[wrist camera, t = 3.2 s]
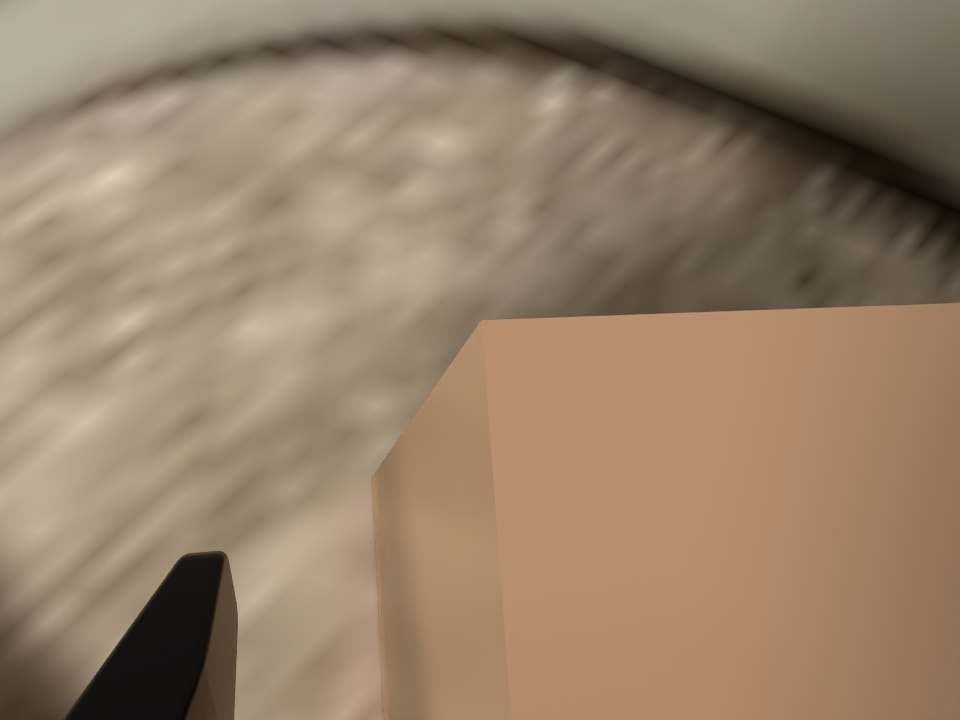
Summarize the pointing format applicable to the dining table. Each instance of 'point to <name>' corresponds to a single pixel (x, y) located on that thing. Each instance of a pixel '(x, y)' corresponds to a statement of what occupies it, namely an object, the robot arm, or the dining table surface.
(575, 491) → the clay block
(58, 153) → the dining table surface
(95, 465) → the dining table surface
